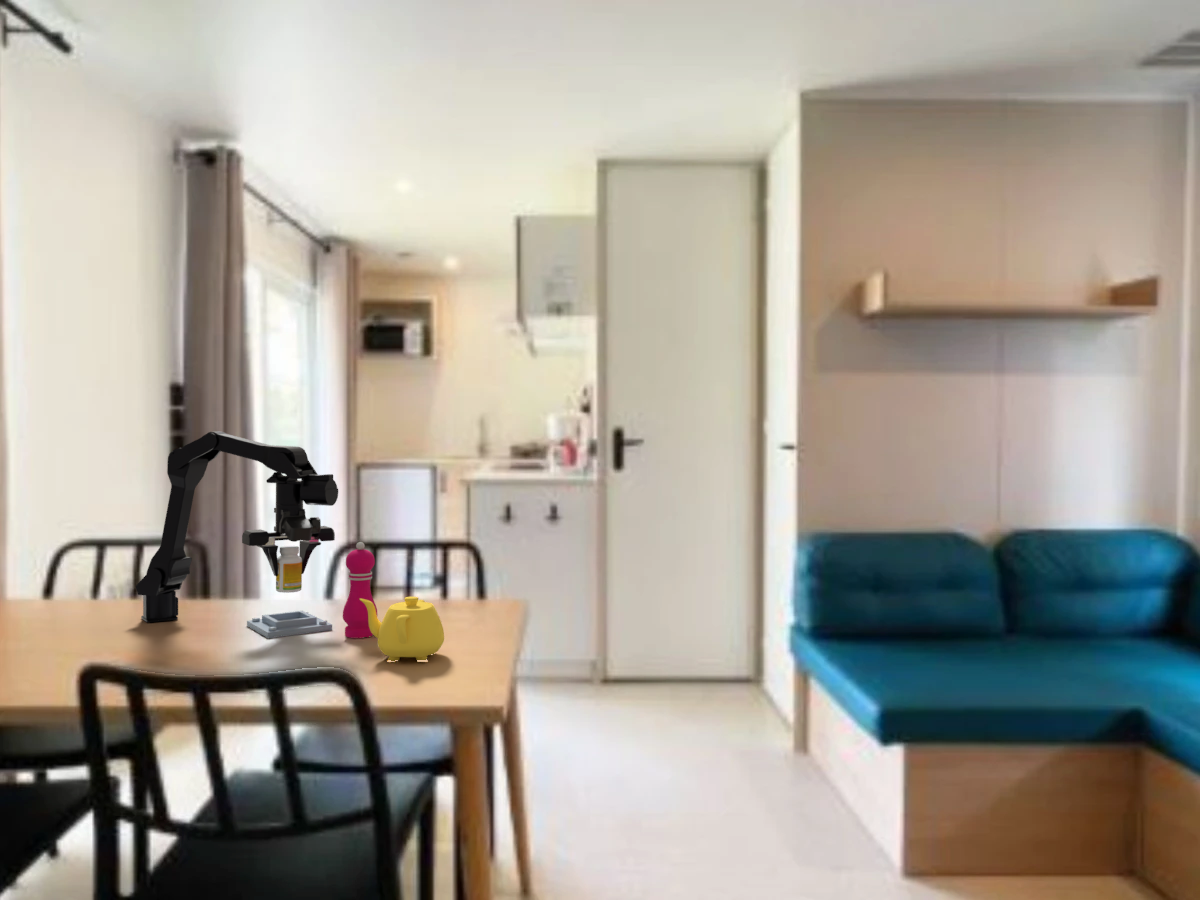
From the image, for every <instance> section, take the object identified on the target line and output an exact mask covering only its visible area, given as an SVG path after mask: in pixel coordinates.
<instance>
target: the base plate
mask: <svg viewBox="0 0 1200 900" xmlns="http://www.w3.org/2000/svg"><path fill="white" fill-rule="evenodd" d="M246 627H248V628H249V627H250V629H251V630H253V631H254V630H255V631H254V632H256V633H258V634H260V635H262V636H264V637H265V638H266V639H273V638H279V637H287V636H288V637H289V636H296V635H303V634H311V633H312V634H313V633H319V632H327V631H333V624H332V623H330V622H328V621H327V620H324V619H321V618H320V617H317V616H315V615H313V614H311V613H309V612H308V611H304V610H294V611H286V612H278V613H269V614H268V613H267V614H262V615H261V618H260V617H253V618H251V619H249V620H246Z"/></svg>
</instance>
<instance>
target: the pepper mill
mask: <svg viewBox="0 0 1200 900" xmlns="http://www.w3.org/2000/svg"><path fill="white" fill-rule="evenodd" d="M355 547H356V549H353V550H351V551H350V552H349V553H348V554H347V555H346V558H345V565H346V568H347V569H348V570H349V572H348V573H347V575H348V577H347V579H348V580H349V583H350V585H349V586H350V587H349V593H348V597H347V600H346V602H345V604H344V607H343V610H342V619H343V621H344V623H346V625H347V626H345V627H344V636H345V637H346V638H349V639H364V638H363V637H367V638H370V637H369V636H371V637H373V636H372V635H373V634H372V632H371V631H370V628H369V622H368V610H367V607H366V605H365V604H364V603H363V602H362V601H361V600H360V599H366V600H369V601H371V602H372V603H373V604H374V606H375V610H376V615H377V616H378V609H377V604H376V602H375V601H374V598H373V595H372V591H371V580H372V579H373V571H372V569H373V568H374V566H375V562H376V561H375V556H374V554H373V552H371V551H370V550H368V549H365V543H364V542H362V541H359V542H357V543H356V545H355Z"/></svg>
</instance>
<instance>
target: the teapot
mask: <svg viewBox="0 0 1200 900" xmlns="http://www.w3.org/2000/svg"><path fill="white" fill-rule="evenodd" d="M360 600H361V601H362V602H363V603H364V604H365V605H366V607H367V610H368V622H369V628H370V631H371V632H372V634H373V635H374V636H373V637H375V638H377V646H378V649H379V650H380V652H381V653H382V654H384V655H385V656H387V657H388V658H387V659H388V660H391V661H395V660H399V661H400V659H401V658H415V661H416V660H426V659H427V658H428V655H431V654H434V653H435V654H436V653H437V652H438V651H439V650H440V649H441V647H442V645H443V644H444V642H445V632H444V626H443V623H442V620H441V618H440V615H439V614H438V611H437V609H436V607H435V605H434V604H433V603H432V602H429V601H428V602H427V601H425V600H424V599H419V597H418V596H407V597H404V601H399V602H397V603H392V604H391V605H390V606H389V607H388V609H387V610H386V612H385V614H384V616H383V619H382V621H380V620H379V618H378V614H377V615H376V610H375V606H374V604H373V603H372V602H371V601H369V600H366V599H360ZM431 656H432V655H431Z"/></svg>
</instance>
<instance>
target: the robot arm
mask: <svg viewBox="0 0 1200 900" xmlns="http://www.w3.org/2000/svg"><path fill="white" fill-rule="evenodd" d="M221 452H222V453H224V454H225V453H226V454H230V455H234V456H237V457H240V458H245V459H248V460H252V461H256V462H259V463H260V464H262V465H264V466H265V467H266V468H268V469H270V470H271V471H274V472H273V473H272V475H271V476H269V478H267V479H266V483H267V484H275V507H274V508H273V513H275V525H274V526H273V532H272V531H271V532H268V531H267V530H264V529H247V530H244V531H243V532H242V535H241V543H242V544H243V545H247V546H248V547H251V546H252V547H258V548H261V550H262V552H263V553H264V555H265V556H266V559H267V561H268V564H269V565H270V568H271V571H272V573H273V576H274V577H276V576H277V575H278V563H277V558H278V554H277V553H278V548H279V545H278V544H277V545H276V541H290V542H292V543H293V542H299V555H298V556H300V557H301V558H302V575H304V573H305V571H306V568H307V565H308V563H309V559H310V557H311V555H312V553H313V552H314V550H315V549H316V547H317V546H321V545H322V542H331V541H335V530H334V529H333V528H332V527H330V526H326V525H322V524H321V518H320V517H319V516H317V517H316V516H315V517H312V516H311V517H309V518H307V517H306V509H305V508H304V504H305V505H309V506H326V507H327V506H328V507H329V506H334V505H336V502H337V501H338V496H339V488H338V484H337V483H336V481H335V480H334V475H333V474H334V473H333V474H331V473H330V474H329V473H328V474H318V473H317V471H316V469H315V468H314V466H313V465H312V464H311V462H310V460H309V457H308V454H307V452H306V450H305V449H304V448H302V447H300V446H295V445H294V446H293V445H274V444H272V445H271V444H266V443H263V442H259V441H255V440H251V439H248V438H244V437H240V436H236V435H232V434H229V433H227V432H224V431H208V432H207V433H206V434H204V435H202V436H201V437H200V438H197V439H195V440H194V441H191V442H189V443H188V444H185V445H183V446H182V447H179V448H175V449H173V450H172V451H170V453H169V454H168V456H167V463H166V464H167V466H166V467H167V469H166V473H167V476H168V479H169V482H170V485H171V487H170V493H169V497H168V501H167V502H168V503H167V509H166V512H165V513H166V515H165V518H164V519H165V520H164V524H163V531H162V536H161V541H160V545H159V547H158V549H157V551H156V552H155V553H154V554H153V556H152V558H150V560H149V561H150V562H149V564H148V568H147V570H146V574H145V576H143V577H142V579H140V581H138V583H137V584H136V585H135V589H136V592H137V595H138V596H142V609H143V610H142V615H141V617H140V618H141V619H142V620H143V621H144V622H145V623H156V622H167V621H173V620H179V617H178V616H179V597H177V595H176V594H177V593H176V592H177V591H178V590H181V588H182V585H183V582H185V580H186V578H187V577H188V575H191V571H190V567H191V564H192V559H193V558H192V557H191V556H187V555H186V552H185V550H184V549H185V543H186V537H187V533H188V527H189V521H190V517H191V516H190V515H191V511H192V507H193V501H194V500H193V499H194V497H195V496H194V495H195V490H196V487H197V486H198V484H199V483H200V482H201V480H202V479H204V478H203V477H204V475H205V472H206V471H207V468H208V465H209V463H210V462H212V461H214V460H215V459H216V458H217V457H218V456H219V454H220V453H221Z"/></svg>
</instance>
